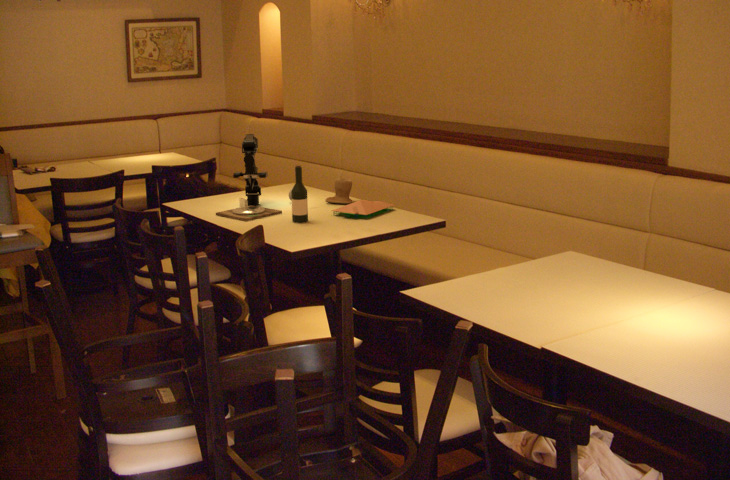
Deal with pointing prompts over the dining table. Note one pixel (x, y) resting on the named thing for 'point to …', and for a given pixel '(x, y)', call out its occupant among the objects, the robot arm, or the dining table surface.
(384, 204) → the house
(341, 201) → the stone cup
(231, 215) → the board
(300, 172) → the wine bottle
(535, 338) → the dining table surface
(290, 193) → the donut
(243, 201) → the dial
